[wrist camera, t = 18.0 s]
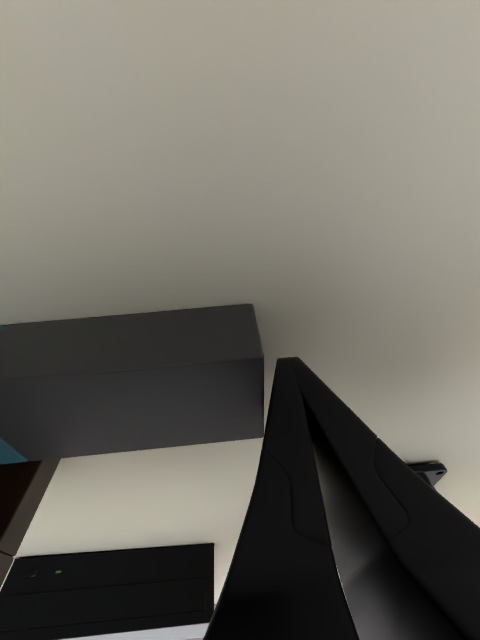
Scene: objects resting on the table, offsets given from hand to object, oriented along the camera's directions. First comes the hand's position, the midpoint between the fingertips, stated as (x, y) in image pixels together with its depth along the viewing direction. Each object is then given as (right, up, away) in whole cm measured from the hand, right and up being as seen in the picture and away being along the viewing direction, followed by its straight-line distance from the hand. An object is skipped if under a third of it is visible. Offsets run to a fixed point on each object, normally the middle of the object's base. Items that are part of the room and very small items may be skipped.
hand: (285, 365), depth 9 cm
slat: (-9, 0, +1) cm, 9 cm away
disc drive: (-14, -29, +22) cm, 39 cm away
